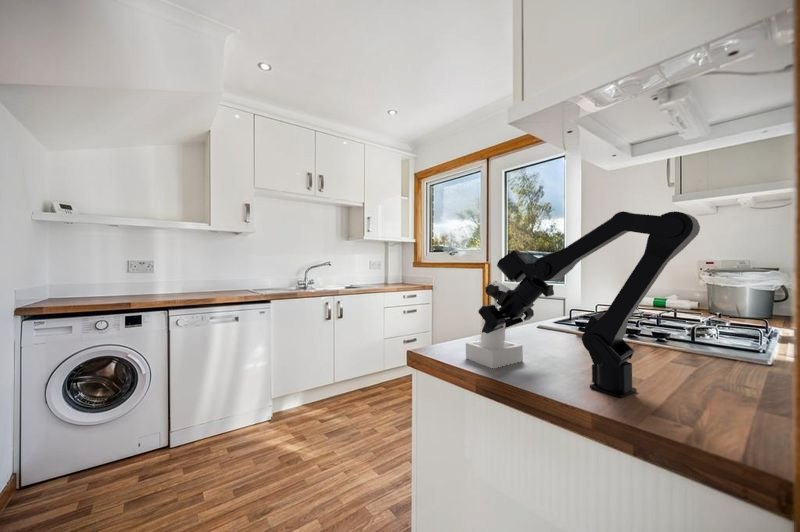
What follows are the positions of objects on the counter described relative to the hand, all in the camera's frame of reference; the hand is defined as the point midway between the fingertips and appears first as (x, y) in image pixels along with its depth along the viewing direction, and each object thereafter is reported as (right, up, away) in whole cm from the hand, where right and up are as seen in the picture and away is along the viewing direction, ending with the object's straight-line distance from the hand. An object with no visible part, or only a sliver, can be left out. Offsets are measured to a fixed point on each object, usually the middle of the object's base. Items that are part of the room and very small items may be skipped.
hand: (489, 331), depth 95 cm
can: (0, -8, -2) cm, 8 cm away
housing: (+1, -8, -1) cm, 8 cm away
